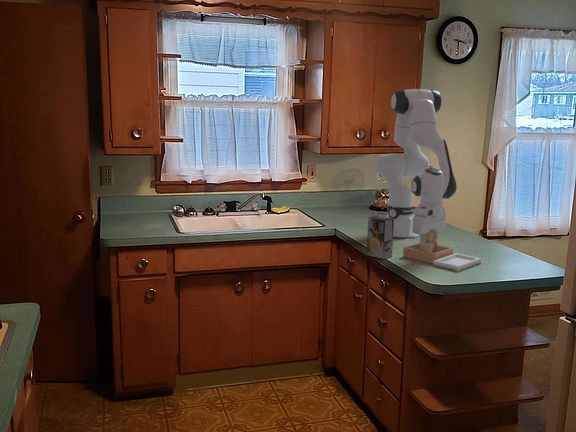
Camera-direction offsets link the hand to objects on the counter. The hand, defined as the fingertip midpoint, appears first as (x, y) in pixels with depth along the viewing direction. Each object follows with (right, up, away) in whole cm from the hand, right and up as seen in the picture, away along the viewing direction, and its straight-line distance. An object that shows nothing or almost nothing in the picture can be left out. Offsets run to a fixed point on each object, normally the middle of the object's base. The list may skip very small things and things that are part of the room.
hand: (428, 241), depth 245 cm
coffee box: (-20, -6, +1) cm, 21 cm away
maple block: (0, -5, +1) cm, 5 cm away
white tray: (+9, -9, -9) cm, 16 cm away
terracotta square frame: (0, -6, +1) cm, 7 cm away
